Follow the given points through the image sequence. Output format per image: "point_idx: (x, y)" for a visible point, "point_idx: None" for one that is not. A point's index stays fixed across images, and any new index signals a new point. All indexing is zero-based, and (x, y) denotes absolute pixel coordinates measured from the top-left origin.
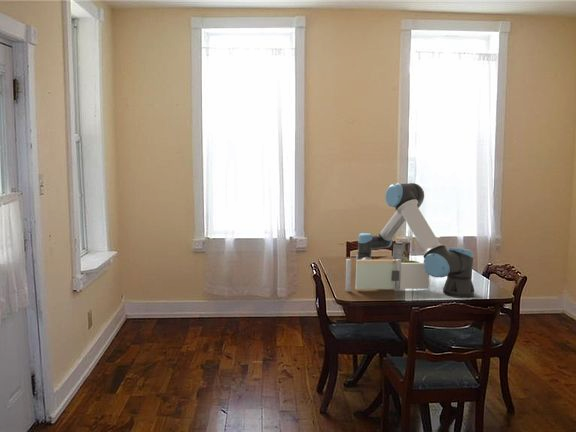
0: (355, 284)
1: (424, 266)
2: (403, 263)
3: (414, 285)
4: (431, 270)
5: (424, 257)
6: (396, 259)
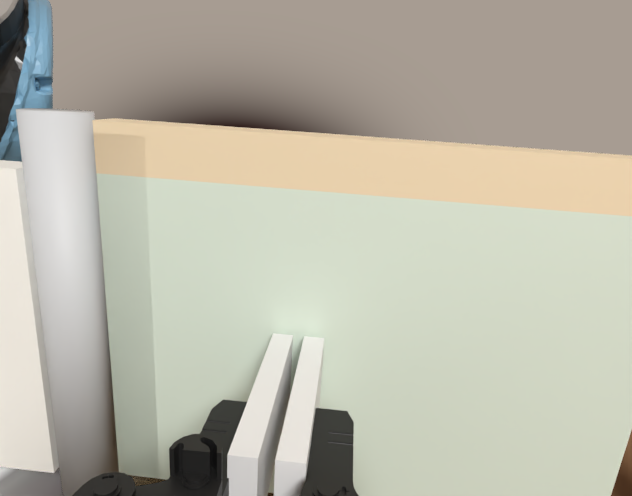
0: (611, 491)
1: (51, 106)
2: (5, 161)
3: None
4: None
5: (4, 33)
6: (91, 112)
